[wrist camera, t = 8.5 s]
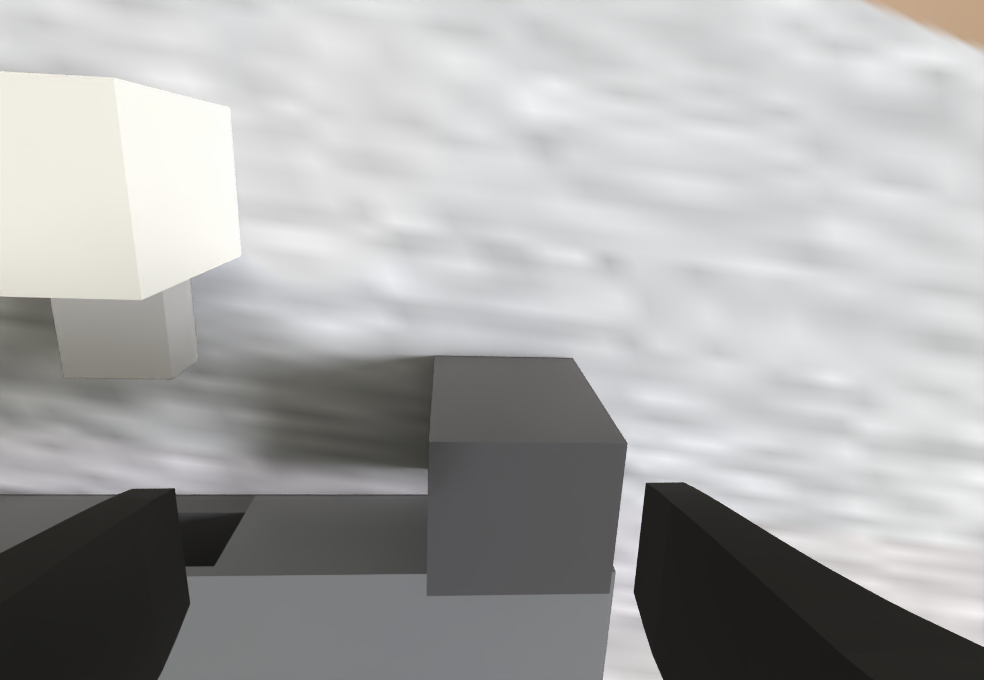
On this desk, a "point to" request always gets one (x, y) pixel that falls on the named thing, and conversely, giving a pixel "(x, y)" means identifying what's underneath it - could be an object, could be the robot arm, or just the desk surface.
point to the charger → (114, 215)
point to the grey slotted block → (413, 549)
